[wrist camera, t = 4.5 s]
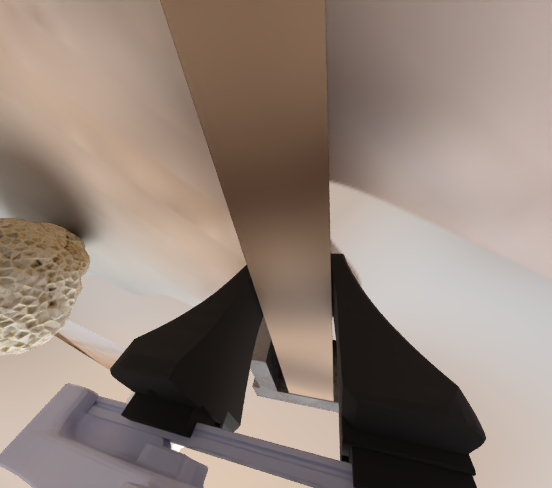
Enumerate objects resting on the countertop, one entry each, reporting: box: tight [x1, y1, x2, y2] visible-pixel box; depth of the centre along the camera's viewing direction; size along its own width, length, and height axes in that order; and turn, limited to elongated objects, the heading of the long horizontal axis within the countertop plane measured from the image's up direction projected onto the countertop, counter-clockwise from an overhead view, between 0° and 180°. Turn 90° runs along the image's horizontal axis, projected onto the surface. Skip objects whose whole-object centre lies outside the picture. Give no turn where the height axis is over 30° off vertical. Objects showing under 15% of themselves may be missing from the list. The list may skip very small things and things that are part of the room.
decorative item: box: [0, 218, 90, 355], centre depth 14 cm, size 12×9×10 cm
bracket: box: [250, 316, 339, 413], centre depth 17 cm, size 10×7×5 cm
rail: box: [160, 0, 334, 402], centre depth 11 cm, size 22×4×5 cm, turn 10°
